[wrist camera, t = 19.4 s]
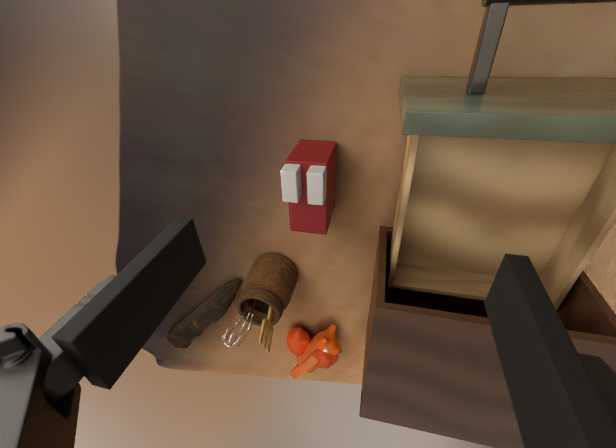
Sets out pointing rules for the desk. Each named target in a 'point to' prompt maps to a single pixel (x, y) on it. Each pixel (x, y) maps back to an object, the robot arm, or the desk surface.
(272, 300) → the utensil holder
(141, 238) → the desk surface
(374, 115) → the desk surface
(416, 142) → the drawer
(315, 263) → the desk surface
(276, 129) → the desk surface
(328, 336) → the orange toy bird
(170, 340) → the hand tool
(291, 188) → the red base white blocks
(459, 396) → the cabinet
